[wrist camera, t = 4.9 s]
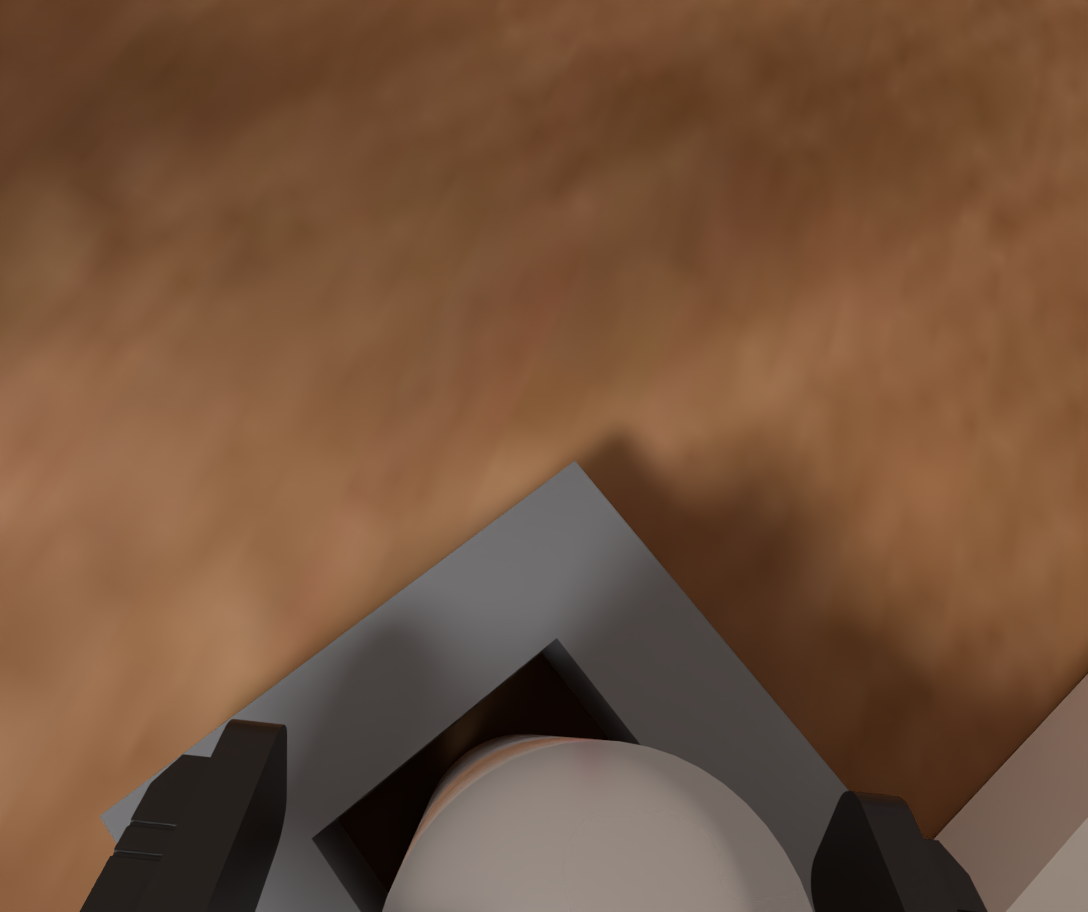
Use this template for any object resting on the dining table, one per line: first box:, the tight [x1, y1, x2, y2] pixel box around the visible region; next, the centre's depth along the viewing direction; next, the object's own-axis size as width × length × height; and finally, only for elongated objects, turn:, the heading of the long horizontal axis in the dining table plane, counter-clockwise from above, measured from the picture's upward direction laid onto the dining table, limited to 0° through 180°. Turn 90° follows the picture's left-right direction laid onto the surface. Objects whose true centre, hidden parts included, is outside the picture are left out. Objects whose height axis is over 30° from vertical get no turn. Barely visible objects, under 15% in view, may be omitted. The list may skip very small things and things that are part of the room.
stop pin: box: [382, 734, 813, 912], centre depth 12 cm, size 4×4×10 cm
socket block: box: [100, 461, 849, 912], centre depth 15 cm, size 10×10×3 cm
